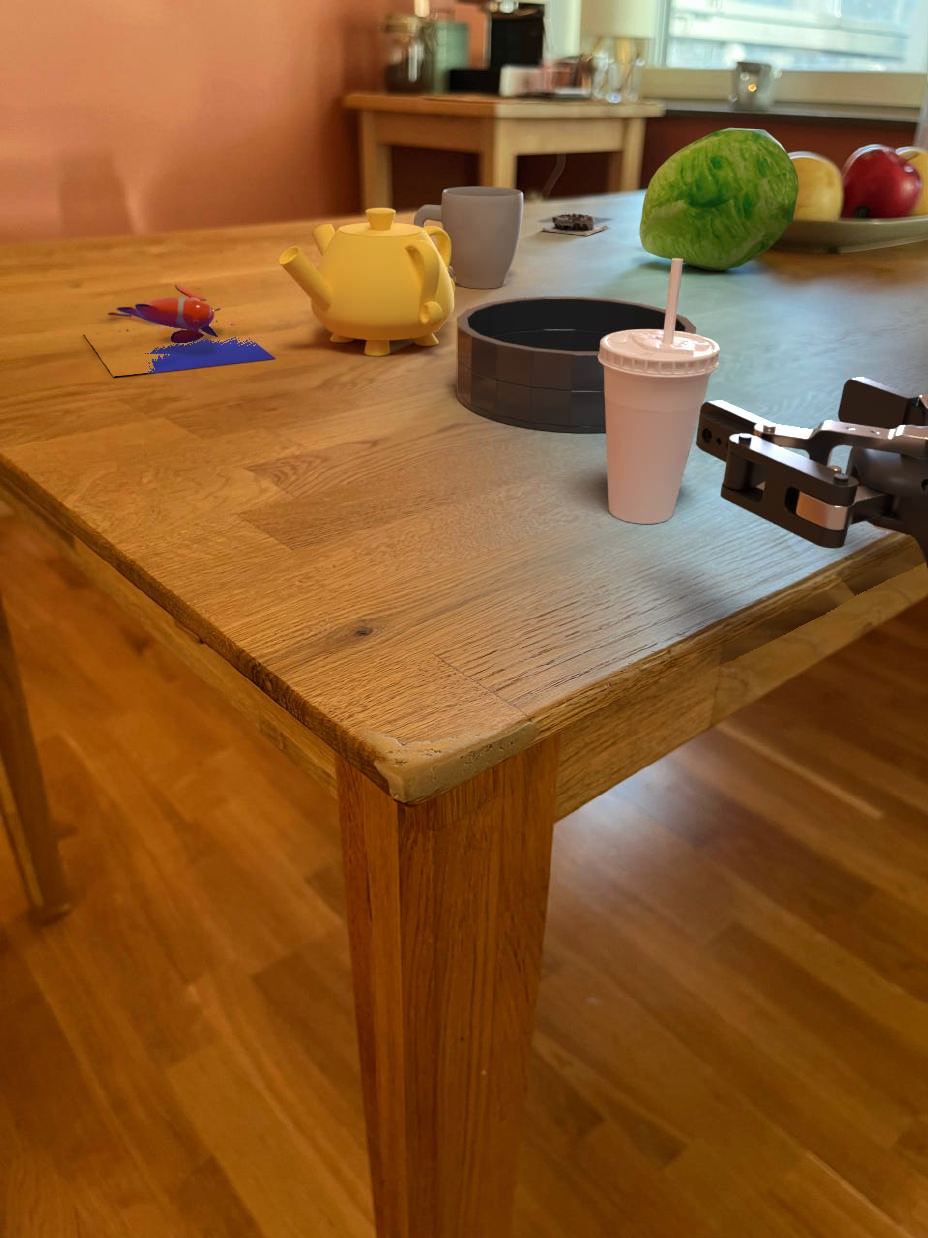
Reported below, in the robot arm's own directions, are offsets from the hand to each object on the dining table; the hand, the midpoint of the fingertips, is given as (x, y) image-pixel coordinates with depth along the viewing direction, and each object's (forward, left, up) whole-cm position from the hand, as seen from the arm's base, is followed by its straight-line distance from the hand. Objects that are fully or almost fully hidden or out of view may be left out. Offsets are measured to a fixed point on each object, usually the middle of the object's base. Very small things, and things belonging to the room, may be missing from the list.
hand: (777, 409), depth 45 cm
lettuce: (-19, -81, -9) cm, 84 cm away
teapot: (+21, -46, -9) cm, 52 cm away
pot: (+5, -30, -9) cm, 32 cm away
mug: (+11, -71, -9) cm, 73 cm away
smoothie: (+4, -8, -9) cm, 13 cm away
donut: (-7, -109, -9) cm, 110 cm away
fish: (+38, -44, -9) cm, 59 cm away
